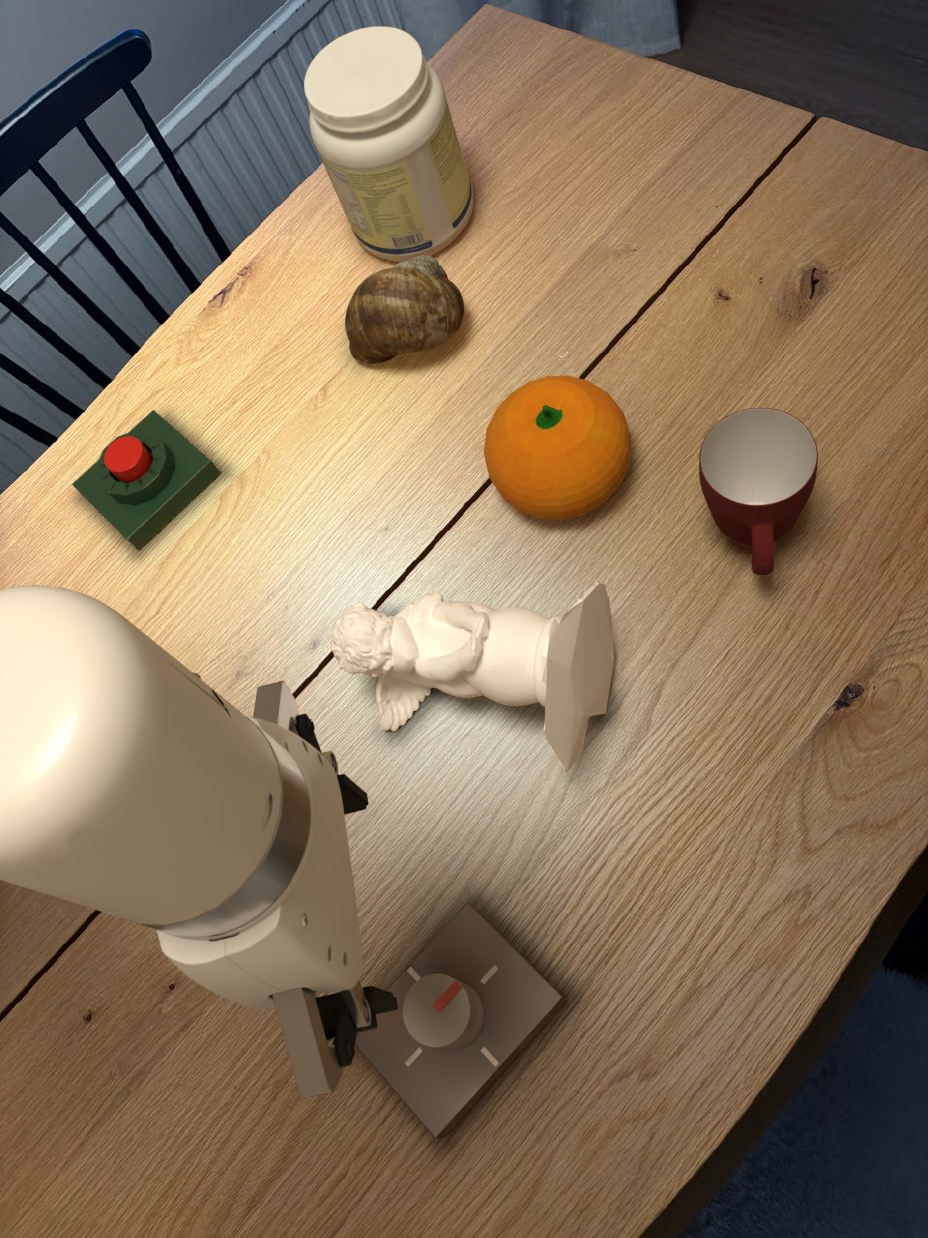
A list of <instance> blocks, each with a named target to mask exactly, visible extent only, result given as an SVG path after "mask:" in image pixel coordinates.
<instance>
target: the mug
mask: <svg viewBox="0 0 928 1238" xmlns="http://www.w3.org/2000/svg"><path fill="white" fill-rule="evenodd" d="M817 445H818V444H817V442H816V440H815V437H814V435H813V434H812V432H811V430H810V429H809V427H807V425H805V423H804V422H802V421H801V420H800V419H798V418H797V417H796V416H794V415H792V414H790V413H788V412H785V411H783V410H780V409H775V408H770V407H751V408H750V407H749V408H745V409H740V410H738V411H735V412H732V413H730V414H728V415H726V416H724V417H723V418H721V419H720V420H719V421H718V422H716V423H715V424H714V425H712V427H711V428H710V429H709V430H708V431H707V433H706V435H705V436H704V438H703V440H702V442H701V446H700V449H699V454H698V477H699V484H700V489H701V492H702V495H703V498H704V500H705V503H706V505H707V507H708V510H709V512H710V515H711V517H712V520H713V521H714V523H715V526H717V528H718V529H719V530H720V532H721V533H722V534H723V535H724V536H726V537H727V538H728V539H729V540H731V541H733V542H735V543H737V544H739V545H741V546H746V547H749V548H751V571H752V573H753V574H754V575H756V576H763V577H764V576H769V575H771V574H772V573H773V572H774V569H775V543H776V542H778V541H779V540H781V539H783V538H785V536H787V535H788V534H789V532H791V530H793V529H794V527H795V526H796V524H797V522H798V521H799V519H800V517H801V515H802V513H803V511H804V509H805V507H806V505H807V504H808V502H809V500H810V497H811V495H812V493H813V491H814V488H815V485H816V480H817V479H816V478H817V474H818V462H819V452H818V451H819V450H818V446H817Z"/></svg>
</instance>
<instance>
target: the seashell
mask: <svg viewBox="0 0 928 1238" xmlns="http://www.w3.org/2000/svg"><path fill="white" fill-rule="evenodd" d="M464 317H465V302H464V297H463V295H462V293H461V290H460V289H459V288H458V286H457V285H456V284H455V283H454V282H453V281H451V280H450V279H449V277H448V274H447V272H446V271H445V269H444V268H443V266H442V265H440V263H439V260H438V258H436V257H434V256H433V255H431V256H429V255H422V256H417V257H415V258H413V259H412V260H407V261H403V262H398V263H397V264H395V265H394V266H393V267H388V268H383V269H381V270H378V271H376V272H373V273H372V274H370V275H369V276H367V277H366V278H365V279H363V281H362V282H361V283H360V284H359V285H358V286H357V287H356V289H355V291H354V292H353V294H352V296H351V298H350V299H349V303H348V305H347V308H346V311H345V317H344V330H345V333H346V336H347V340H348V350H349V353H350V355H351V356H352V358H353V359H354V360H356V361H357V362H359V363H361V364H363V365H368V366H372V365H373V366H377V365H380V364H384V363H388V362H389V361H392V360H393V359H395V358H397V357H398V356H405V355H411V354H417V353H423V352H426V351H427V352H428V351H430V350H431V351H432V350H434V349H437V348H440V347H441V346H443V345H446V344H447V343H448V342H450V341H451V340H452V339H453V338H454V336H455V335H456V334H457V333H458V332H459V330H460V328H461V326H462V323H463V320H464Z"/></svg>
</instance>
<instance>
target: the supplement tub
mask: <svg viewBox="0 0 928 1238" xmlns="http://www.w3.org/2000/svg"><path fill="white" fill-rule="evenodd" d="M303 89H304V94H305V97H306V100H307V106H308V108H309V131H310V134H311V135H310V136H311V139H312V142H313V145H314V147H315V148H316V150H317V152H318V155H319V157H320V160H321V162H322V164H323V166H324V168H325V171H326V174H327V175H328V178H329V180H330V182H331V184H332V186H333V187H332V188H333V189H334V192H335V195H336V196H337V198H338V201H339V203H340V205H341V207H342V210H343V212H344V214H345V216H346V218H347V222H348V223H349V226H350V229H351V231H352V234H353V236H354V237H355V239H356V240H357V242H359V244H360V245H361V246H362V247H363V248H364V249H365V250H366V251H368V252H369V253H370V254H372V255H374V256H375V257H377V258H380V259H383V260H387V261H391V262H396V263H397V262H398V263H400V262H403V261H407V260H412V259H413V258H415V257H417V256H422V255H429V256H433V255H435V254H437V253H439V252H441V251H442V250H444V249H445V248H446V247H448V246H449V245H450V244H451V243H453V242H454V241H455V240H456V239H457V238H458V237H459V236H460V235H461V234H462V232H463V231H464V229H465V228H466V226H467V224H468V222H469V220H470V218H471V215H472V211H473V207H474V191H473V190H474V189H473V184H472V182H471V180H470V176H469V172H468V169H467V166H466V163H465V159H464V156H463V152H462V150H461V146H460V142H459V138H458V135H457V131H456V128H455V124H454V121H453V116H452V114H451V110H450V106H449V104H448V99H447V95H446V89H445V87H444V85H443V83H442V80H441V79H440V77H439V75H438V74H437V72H436V71H435V69H434V68H432V66H431V65H429V63H427V60H426V58H425V56H424V54H423V52H422V48H421V46H420V44H419V42H418V41H417V39H415V38H414V37H413V36H412V35H411V34H410V33H408V32H407V31H404V30H403V29H400V28H396V27H393V26H384V25H383V26H382V25H381V26H367V27H363V28H358V29H356V30H352V31H350V32H347V33H345V34H343V35H341V36H339V37H337V38H335V39H334V40H333V41H331V42H330V43H328V44H327V45H326V46H325V47H323V48H322V49H321V50H320V51H319V52H318V53H317V54H316V55H315V57H314V58H313V60H312V61H311V62H310V64H309V66H308V68H307V70H306V73H305V75H304V81H303Z"/></svg>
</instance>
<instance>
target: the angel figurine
mask: <svg viewBox="0 0 928 1238" xmlns="http://www.w3.org/2000/svg"><path fill="white" fill-rule="evenodd" d="M610 603H611V602H610V595H608V591H607V587H606V583H601V582H597V581H595V584H593V585H591V586H590V587H588V589H586V590H585V591H584V593H583V596H582V597H579V598H577V599H576V601H575V602H574V603H573V604H572V606H571V607H569V608H568V609H567V611H566V612H565V613H564V614H563V616H561V615H554V616H551V617H550V618H549V617H547V616H546V615H544V614H542V613H540V612H539V611H537V610H534V609H531V608H527V607H522V606H508V607H503V608H497V609H494V608H492V607H491V606H489V605H487V604H484V603H481V602H473V601H453V600H444V595H443V594H442V593H441V592H439V591H436V592H429V593H425V594H423V595H421V596H420V597H419V598H418V599H417V601H416V602H415V603H409V604H408V605H406V606H405V607H404V608H403V609H401V610H399V611H398V612H397V614H395V615H389V616H388V615H387V614H386V613H384V612H380V611H377V610H376V609H373V608H371V607H368V606H367V605H365V603H364V602H357V603H355V604H354V605H353V604H352V605H351V606H348V607H344V609H343V611H342V613H341V615H340V616H338V617H337V618H336V621H335V623H334V624H333V626H332V630H331V632H330V635H329V638H330V650H331V652H332V653H333V656H334V658H335V659H336V660H337V662H338V666H339V669H341V670H344V672H347V674H350V675H355V674H363V675H368V676H370V677H374V678H377V677H378V678H377V684H376V686H375V698H376V699H375V700H376V704H377V707H378V712H379V714H378V716H380V728H381V730H382V731H384V732H385V731H386V732H388V731H389V730H391V731H392V732H397V731H398V730H399V728H400V727H402V726H405V724H406V723H407V721H408V720H410V719H412V717H413V713H414V712H416V711H418V710H419V708H420V703H423V702H425V698H426V697H429V696H430V695H431V692H432V690H431V689H433V688H434V689H438V690H439V691H441V692H443V693H445V694H447V695H450V696H452V697H457V698H461V699H472V698H477V697H482V696H484V697H485V698H487V699H489V700H491V701H493V702H495V703H498V704H501V705H505V706H511V707H517V706H519V707H521V706H528V705H532V704H536V703H539V704H540V706H542V707H544V708H545V709H544V725H543V726H544V727H543V733H544V736H545V740H546V741H547V742H548V744H549V746H550V747H551V749H552V750H553V752H554V753H555V755H556V757H557V758H558V760H559V761H560V763H561V764H562V766H563V768H562V771H566V773H568V772H569V771H570V770H571V769H572V767H574V765H575V764H576V762H577V761H578V760H579V759H580V757H582V755H583V749H584V744H585V739H586V735H587V734H586V733H587V729H588V724H589V719H590V718H591V717H593V716H599V715H606V714H607V708H608V702H609V695H610V690H611V683H612V677H613V671H614V663H615V647H614V625H613V624H614V623H613V617H612V610H611V604H610Z"/></svg>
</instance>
